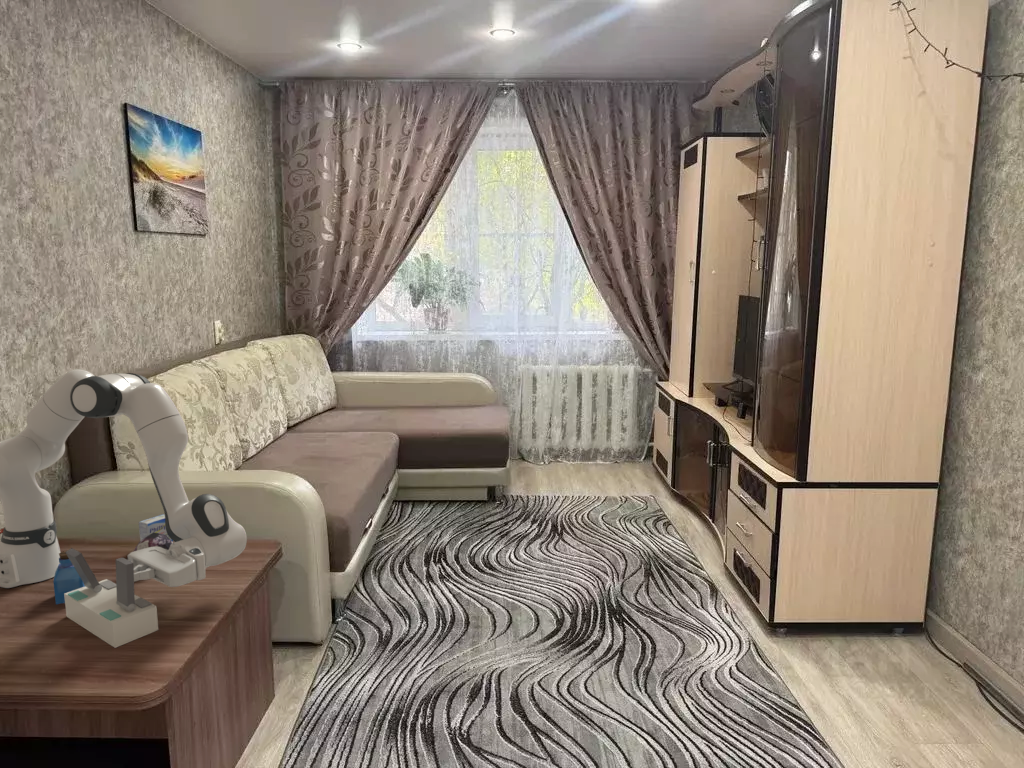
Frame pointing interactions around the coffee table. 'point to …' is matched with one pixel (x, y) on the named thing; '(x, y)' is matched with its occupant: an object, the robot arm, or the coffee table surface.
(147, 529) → the medicine box
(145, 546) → the mineral specimen
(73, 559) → the inner lever
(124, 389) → the robot arm
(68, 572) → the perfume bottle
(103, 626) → the switch unit
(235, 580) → the coffee table surface
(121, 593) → the outer lever
